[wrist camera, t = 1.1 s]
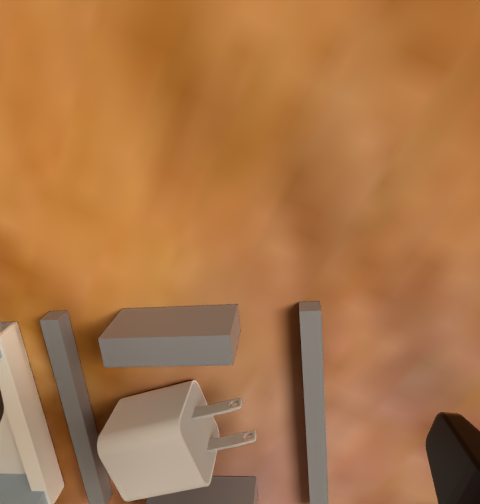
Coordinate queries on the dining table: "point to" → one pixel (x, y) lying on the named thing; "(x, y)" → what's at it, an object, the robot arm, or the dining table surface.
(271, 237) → the dining table surface
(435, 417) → the robot arm
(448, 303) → the dining table surface
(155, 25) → the dining table surface
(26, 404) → the drawer
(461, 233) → the dining table surface
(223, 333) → the blocks
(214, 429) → the usb wall charger
